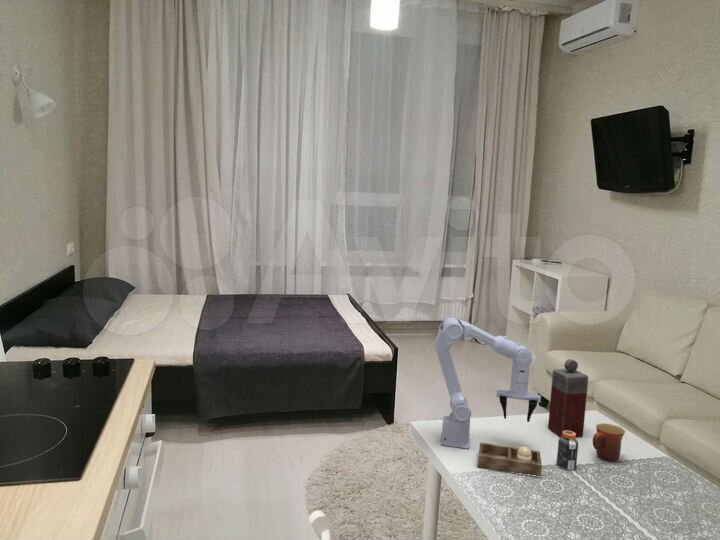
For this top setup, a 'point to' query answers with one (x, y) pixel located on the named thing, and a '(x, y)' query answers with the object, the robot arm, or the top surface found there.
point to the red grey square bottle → (568, 400)
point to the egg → (524, 454)
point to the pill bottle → (567, 450)
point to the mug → (608, 441)
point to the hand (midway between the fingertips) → (516, 419)
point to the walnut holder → (507, 460)
